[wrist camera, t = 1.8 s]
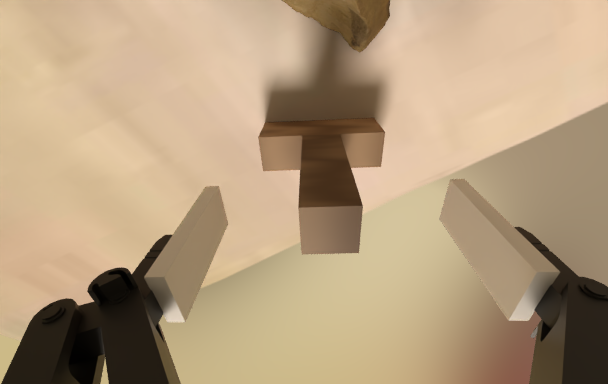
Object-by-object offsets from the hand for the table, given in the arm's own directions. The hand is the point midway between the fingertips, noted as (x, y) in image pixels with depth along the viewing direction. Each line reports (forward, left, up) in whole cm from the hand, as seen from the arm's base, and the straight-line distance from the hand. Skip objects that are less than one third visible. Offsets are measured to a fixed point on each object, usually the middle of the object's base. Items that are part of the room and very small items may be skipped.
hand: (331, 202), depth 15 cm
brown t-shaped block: (0, 0, -11) cm, 11 cm away
